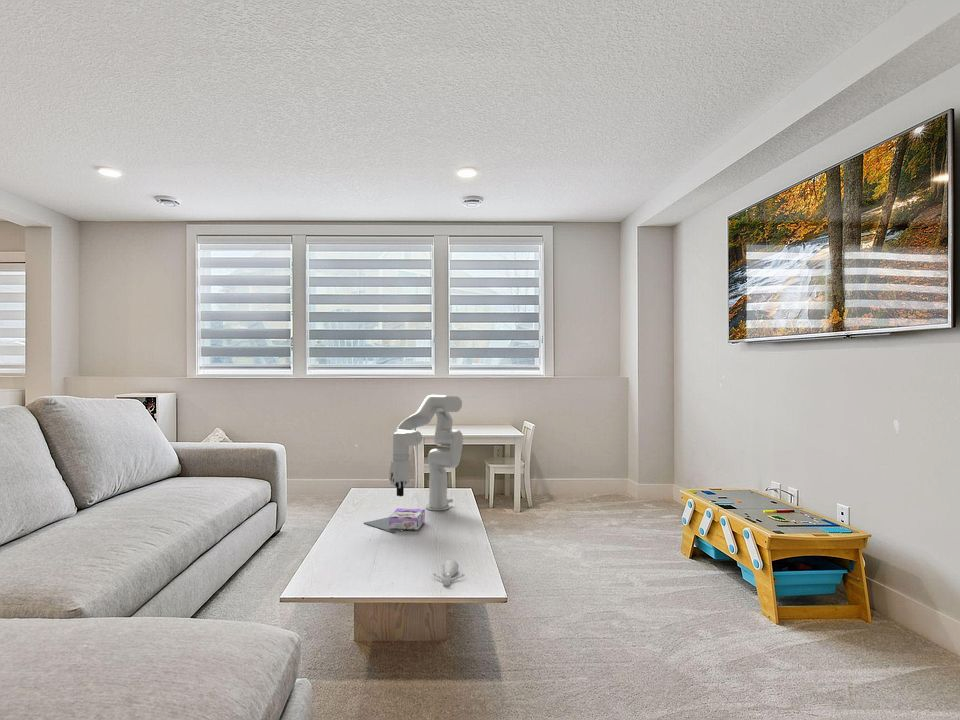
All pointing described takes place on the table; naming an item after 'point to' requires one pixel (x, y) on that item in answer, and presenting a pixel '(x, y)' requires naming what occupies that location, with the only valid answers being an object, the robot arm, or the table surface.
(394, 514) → the candy box
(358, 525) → the table surface
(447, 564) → the grey legged figure
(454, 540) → the table surface
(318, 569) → the table surface
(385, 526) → the mat
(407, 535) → the table surface
